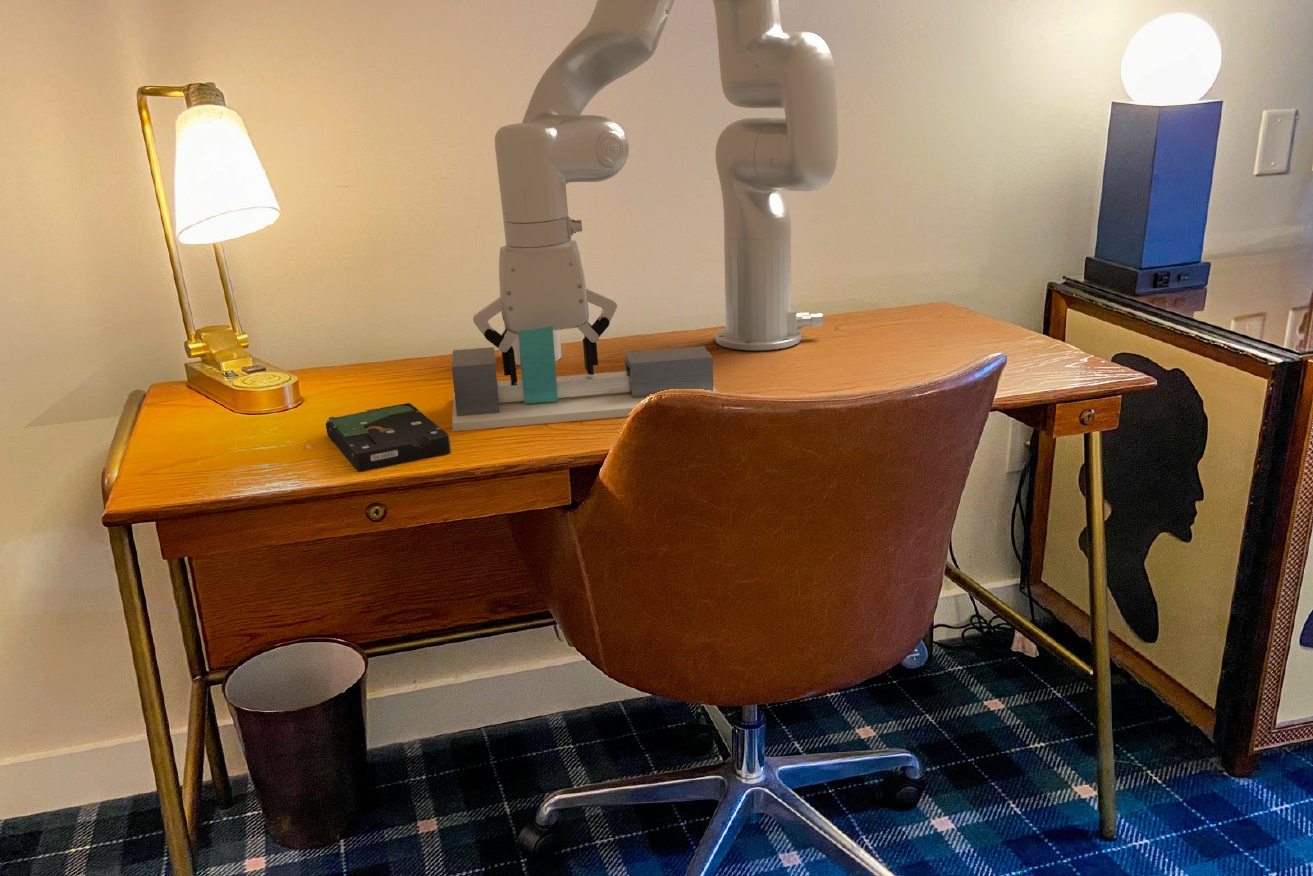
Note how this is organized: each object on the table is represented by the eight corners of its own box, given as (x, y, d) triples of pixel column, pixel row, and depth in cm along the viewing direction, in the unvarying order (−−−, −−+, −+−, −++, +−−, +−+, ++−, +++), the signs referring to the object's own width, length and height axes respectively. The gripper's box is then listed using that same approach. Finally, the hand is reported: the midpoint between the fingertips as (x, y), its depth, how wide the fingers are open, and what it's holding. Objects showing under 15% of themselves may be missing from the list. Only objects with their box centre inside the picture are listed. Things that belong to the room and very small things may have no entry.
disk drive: (454, 458, 116) (411, 422, 128) (451, 434, 115) (409, 400, 127) (359, 478, 111) (325, 439, 123) (356, 453, 110) (321, 416, 122)
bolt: (647, 384, 134) (643, 306, 130) (651, 393, 130) (648, 312, 127) (478, 398, 131) (470, 318, 127) (478, 407, 127) (470, 325, 124)
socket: (498, 393, 133) (494, 347, 131) (499, 412, 126) (495, 363, 124) (457, 397, 132) (453, 350, 130) (456, 416, 125) (451, 366, 123)
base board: (702, 379, 139) (702, 371, 139) (724, 408, 127) (724, 400, 127) (454, 399, 135) (454, 391, 135) (453, 431, 123) (452, 423, 122)
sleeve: (704, 379, 136) (703, 346, 134) (713, 391, 130) (712, 357, 129) (626, 386, 134) (624, 352, 133) (632, 398, 129) (631, 363, 127)
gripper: (607, 222, 128) (617, 360, 134) (461, 235, 126) (479, 375, 132) (616, 232, 121) (627, 376, 127) (462, 246, 119) (481, 393, 125)
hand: (551, 375), depth 129 cm, fingers open, 8 cm apart
